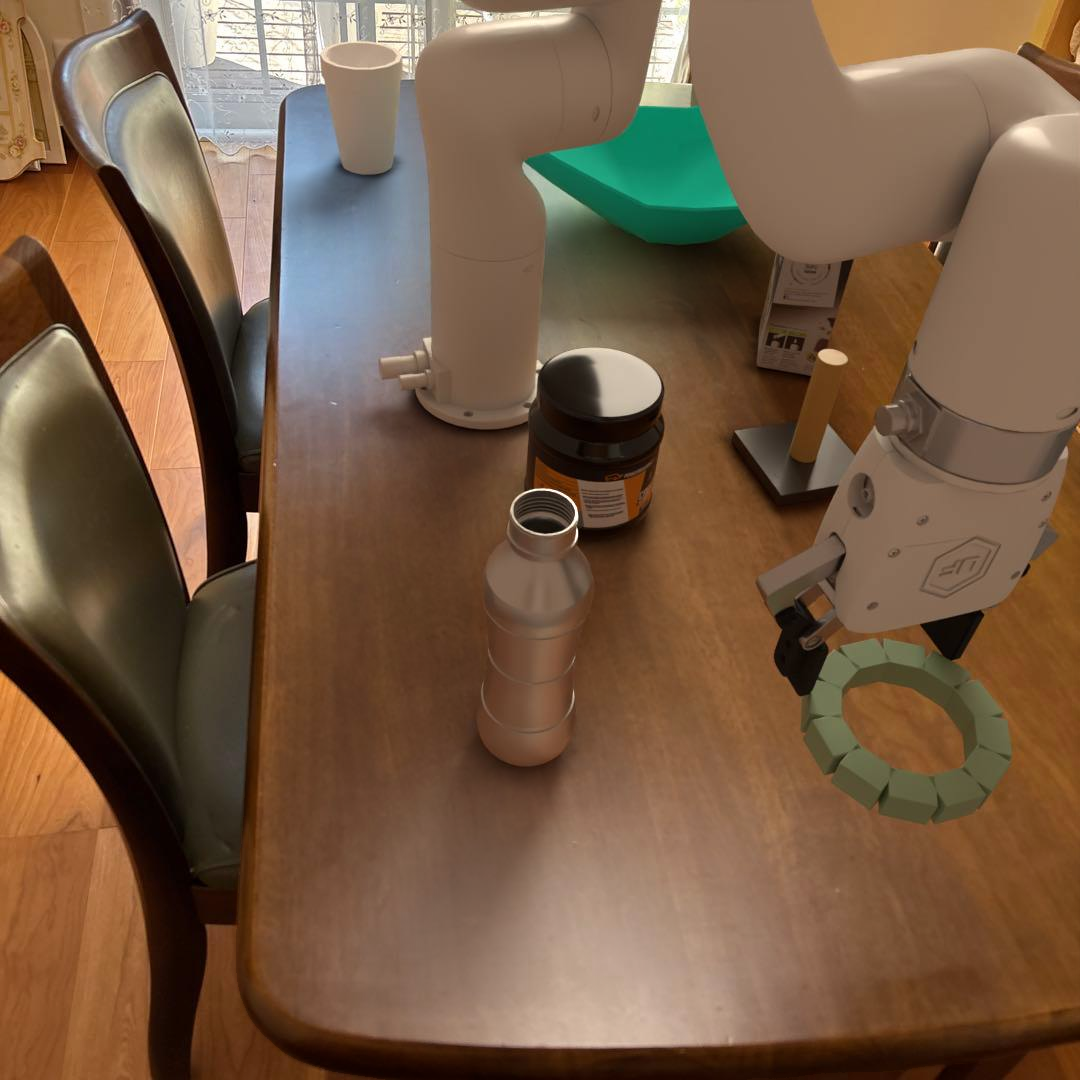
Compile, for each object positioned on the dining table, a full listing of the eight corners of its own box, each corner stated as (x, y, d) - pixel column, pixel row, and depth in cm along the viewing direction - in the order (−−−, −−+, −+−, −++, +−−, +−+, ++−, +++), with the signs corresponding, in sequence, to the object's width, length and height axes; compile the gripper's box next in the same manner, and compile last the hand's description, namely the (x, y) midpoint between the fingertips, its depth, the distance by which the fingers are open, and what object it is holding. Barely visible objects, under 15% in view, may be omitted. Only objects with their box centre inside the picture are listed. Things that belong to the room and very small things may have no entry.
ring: (864, 845, 51) (875, 826, 50) (767, 680, 58) (774, 660, 57) (1038, 795, 54) (1053, 776, 52) (926, 643, 61) (936, 623, 59)
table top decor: (785, 178, 133) (810, 72, 124) (857, 287, 113) (893, 170, 104) (481, 174, 128) (484, 64, 119) (500, 288, 108) (505, 165, 99)
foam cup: (321, 152, 130) (312, 44, 121) (391, 144, 133) (387, 38, 124) (340, 184, 124) (332, 72, 115) (414, 175, 127) (411, 66, 118)
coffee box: (820, 378, 100) (867, 223, 89) (754, 367, 100) (792, 212, 89) (820, 330, 106) (864, 180, 95) (758, 320, 107) (794, 170, 96)
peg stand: (778, 506, 85) (811, 396, 78) (731, 441, 91) (757, 333, 84) (871, 489, 88) (911, 381, 80) (819, 427, 94) (852, 321, 86)
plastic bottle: (569, 696, 70) (600, 471, 56) (575, 782, 65) (611, 558, 51) (475, 695, 69) (482, 467, 55) (473, 781, 64) (481, 555, 51)
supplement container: (606, 564, 79) (624, 442, 71) (496, 507, 83) (502, 385, 75) (672, 495, 86) (697, 375, 77) (568, 445, 90) (581, 326, 81)
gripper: (854, 500, 41) (758, 747, 53) (1193, 438, 45) (1034, 678, 57) (767, 389, 46) (698, 638, 58) (1081, 344, 50) (956, 583, 62)
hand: (866, 657), depth 57 cm, fingers closed on ring, 9 cm apart
